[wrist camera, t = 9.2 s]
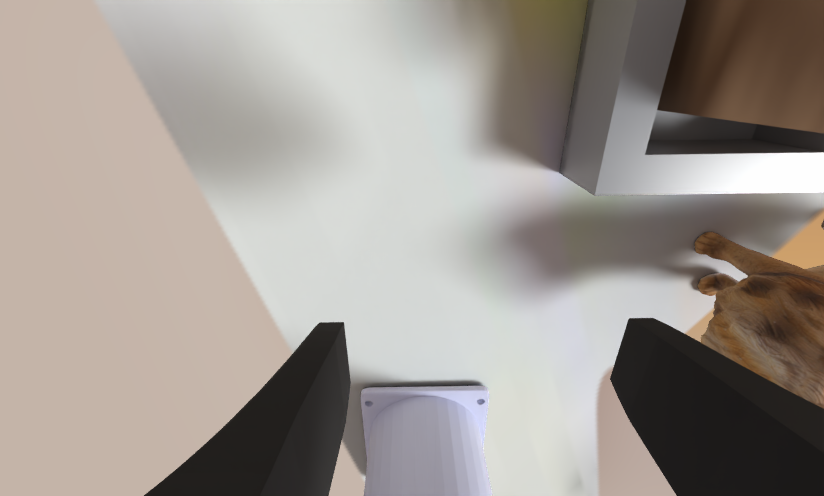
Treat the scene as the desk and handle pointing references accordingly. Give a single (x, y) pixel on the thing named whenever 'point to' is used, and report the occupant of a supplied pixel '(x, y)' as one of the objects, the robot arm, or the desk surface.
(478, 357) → the desk surface
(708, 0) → the walnut block
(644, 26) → the square well
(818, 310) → the lion figurine
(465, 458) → the robot arm
